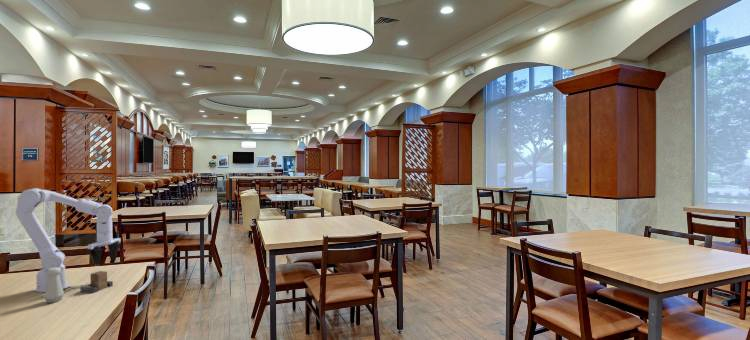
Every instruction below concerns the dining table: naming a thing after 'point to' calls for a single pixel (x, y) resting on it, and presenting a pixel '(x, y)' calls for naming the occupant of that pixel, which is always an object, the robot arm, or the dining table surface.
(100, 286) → the brown upright block
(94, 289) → the bracket slot
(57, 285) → the grey vase
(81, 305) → the dining table surface
